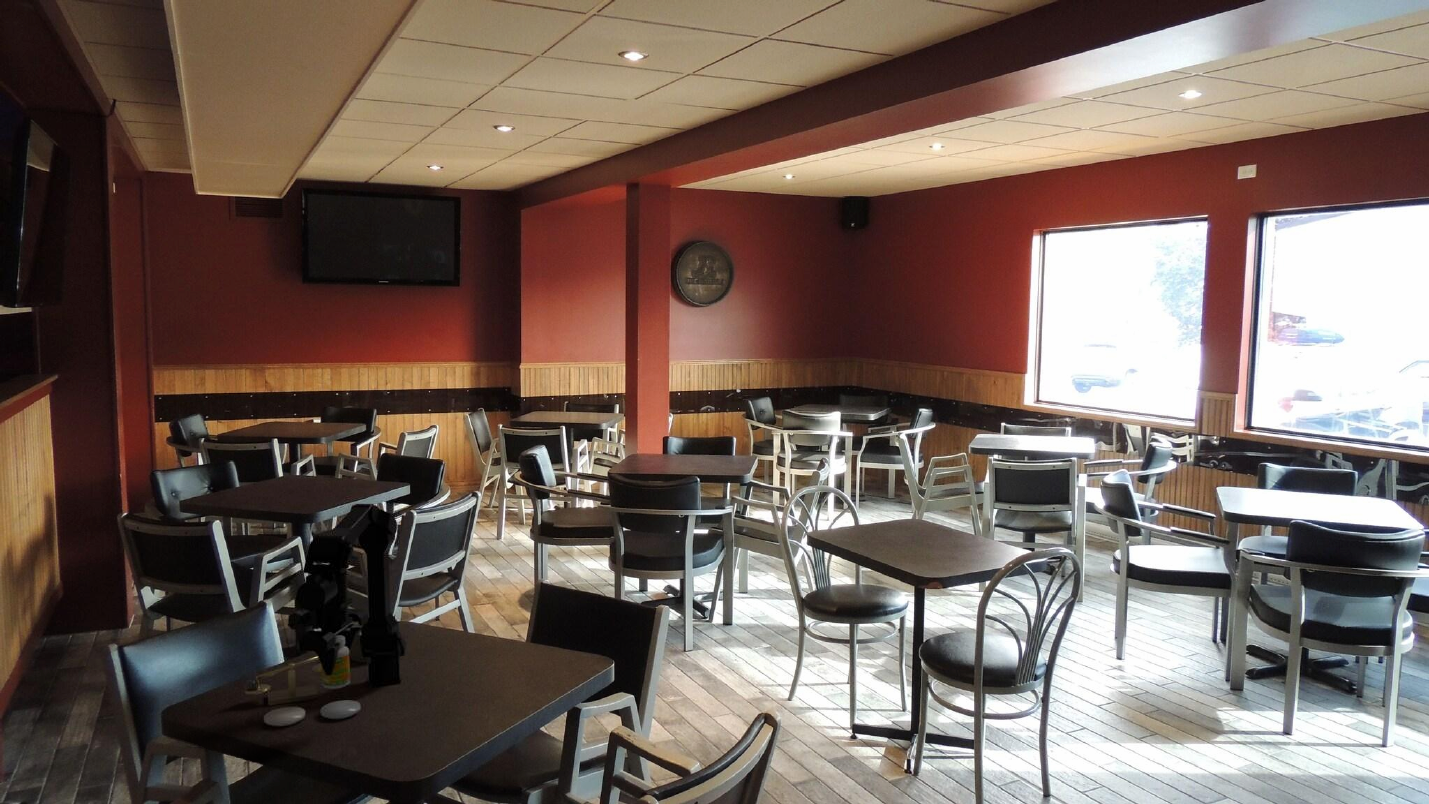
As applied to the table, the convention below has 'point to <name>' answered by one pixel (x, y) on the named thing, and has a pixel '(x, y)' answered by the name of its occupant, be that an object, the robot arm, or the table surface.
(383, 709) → the table surface
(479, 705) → the table surface
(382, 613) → the robot arm
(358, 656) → the can
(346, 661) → the supplement bottle
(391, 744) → the table surface
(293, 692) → the balance
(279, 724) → the dish
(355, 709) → the dish
